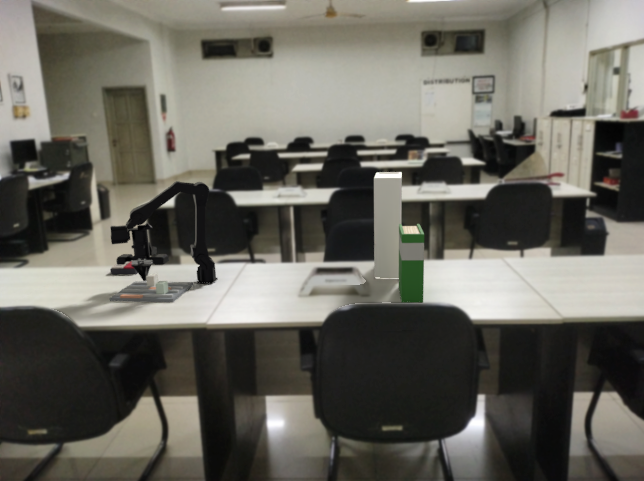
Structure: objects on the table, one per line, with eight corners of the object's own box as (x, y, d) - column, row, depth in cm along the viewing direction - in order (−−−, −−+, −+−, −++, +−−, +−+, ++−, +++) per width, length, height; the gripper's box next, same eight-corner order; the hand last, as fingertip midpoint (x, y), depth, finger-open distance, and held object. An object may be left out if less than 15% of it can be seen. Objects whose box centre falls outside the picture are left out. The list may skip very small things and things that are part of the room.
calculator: (109, 267, 224) (124, 256, 239) (110, 277, 226) (125, 265, 240) (134, 267, 224) (147, 256, 238) (136, 276, 225) (149, 265, 239)
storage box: (400, 279, 207) (401, 177, 198) (374, 279, 209) (373, 177, 200) (401, 265, 228) (401, 172, 219) (376, 264, 229) (376, 172, 220)
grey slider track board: (193, 285, 208) (193, 280, 207) (173, 302, 188) (172, 296, 188) (135, 284, 211) (135, 279, 210) (109, 301, 192) (109, 295, 191)
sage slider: (168, 291, 195) (167, 281, 194) (164, 294, 192) (163, 284, 191) (160, 291, 196) (159, 280, 195) (156, 294, 192) (155, 283, 191)
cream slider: (158, 283, 205) (157, 273, 204) (154, 286, 202) (153, 276, 201) (151, 283, 205) (150, 273, 204) (147, 286, 202) (145, 276, 201)
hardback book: (398, 286, 199) (398, 224, 194) (418, 286, 198) (419, 223, 193) (401, 302, 182) (401, 234, 177) (423, 302, 181) (424, 234, 176)
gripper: (172, 236, 207) (176, 275, 210) (127, 236, 209) (132, 274, 213) (160, 243, 196) (164, 283, 199) (113, 243, 198) (118, 283, 202)
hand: (145, 280), depth 204 cm, fingers closed
